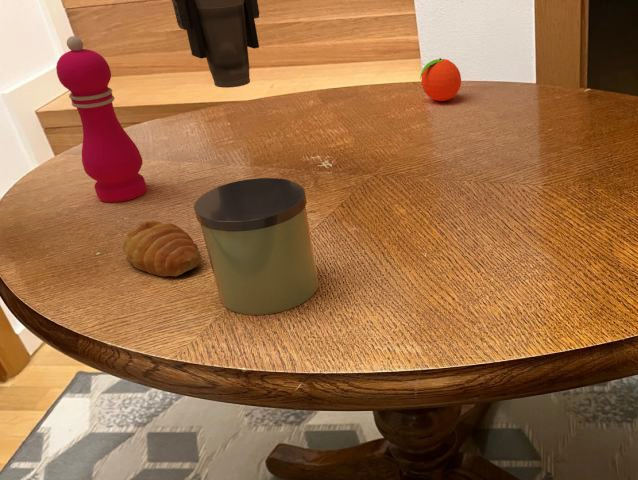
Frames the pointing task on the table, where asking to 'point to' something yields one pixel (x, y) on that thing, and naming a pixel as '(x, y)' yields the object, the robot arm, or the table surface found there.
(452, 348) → the table surface
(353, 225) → the table surface
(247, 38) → the robot arm
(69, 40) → the pepper mill
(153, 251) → the pastry
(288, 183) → the jar
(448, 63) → the clementine
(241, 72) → the beverage cup
